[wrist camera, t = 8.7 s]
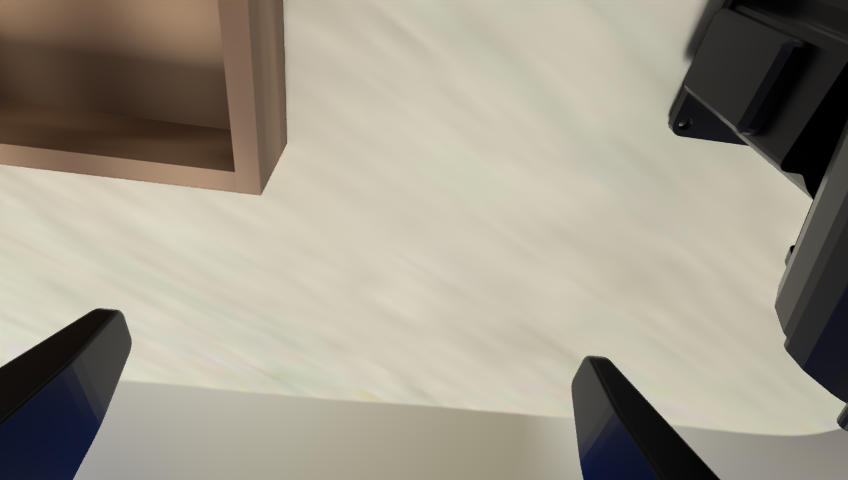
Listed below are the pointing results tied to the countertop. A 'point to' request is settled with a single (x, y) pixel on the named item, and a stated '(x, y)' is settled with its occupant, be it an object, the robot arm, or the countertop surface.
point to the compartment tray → (145, 89)
